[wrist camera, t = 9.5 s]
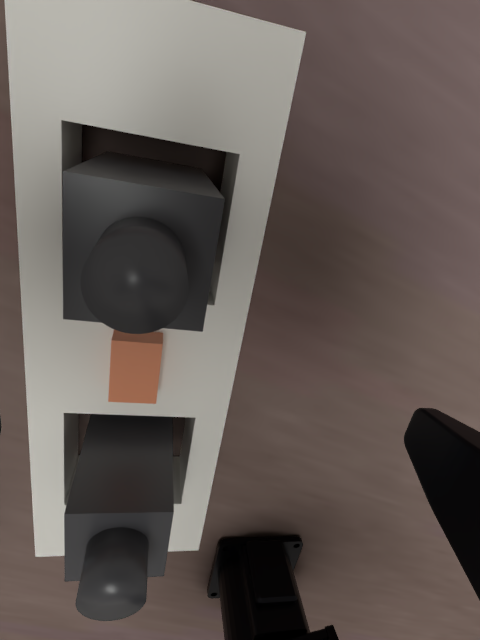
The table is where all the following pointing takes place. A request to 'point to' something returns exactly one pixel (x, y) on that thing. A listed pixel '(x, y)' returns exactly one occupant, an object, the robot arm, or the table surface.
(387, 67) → the table surface
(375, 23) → the table surface
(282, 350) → the table surface
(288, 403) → the table surface
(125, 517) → the twin plug
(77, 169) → the plug
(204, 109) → the power strip
